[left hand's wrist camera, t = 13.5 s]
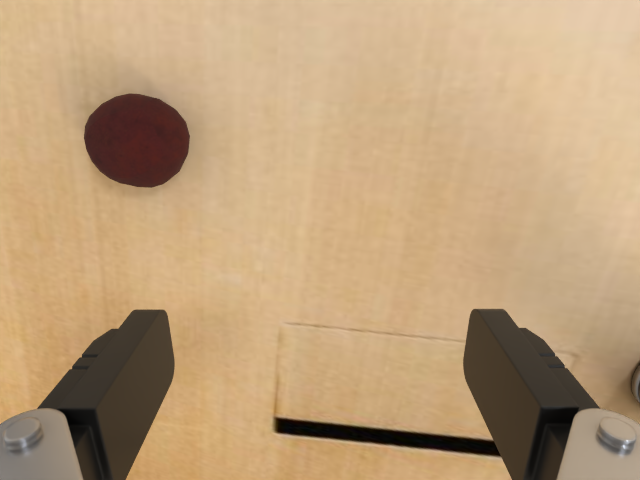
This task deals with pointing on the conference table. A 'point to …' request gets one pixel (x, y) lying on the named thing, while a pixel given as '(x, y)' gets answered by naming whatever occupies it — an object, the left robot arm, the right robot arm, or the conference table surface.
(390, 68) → the conference table surface
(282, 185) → the conference table surface
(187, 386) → the conference table surface
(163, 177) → the potato
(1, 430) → the left robot arm
